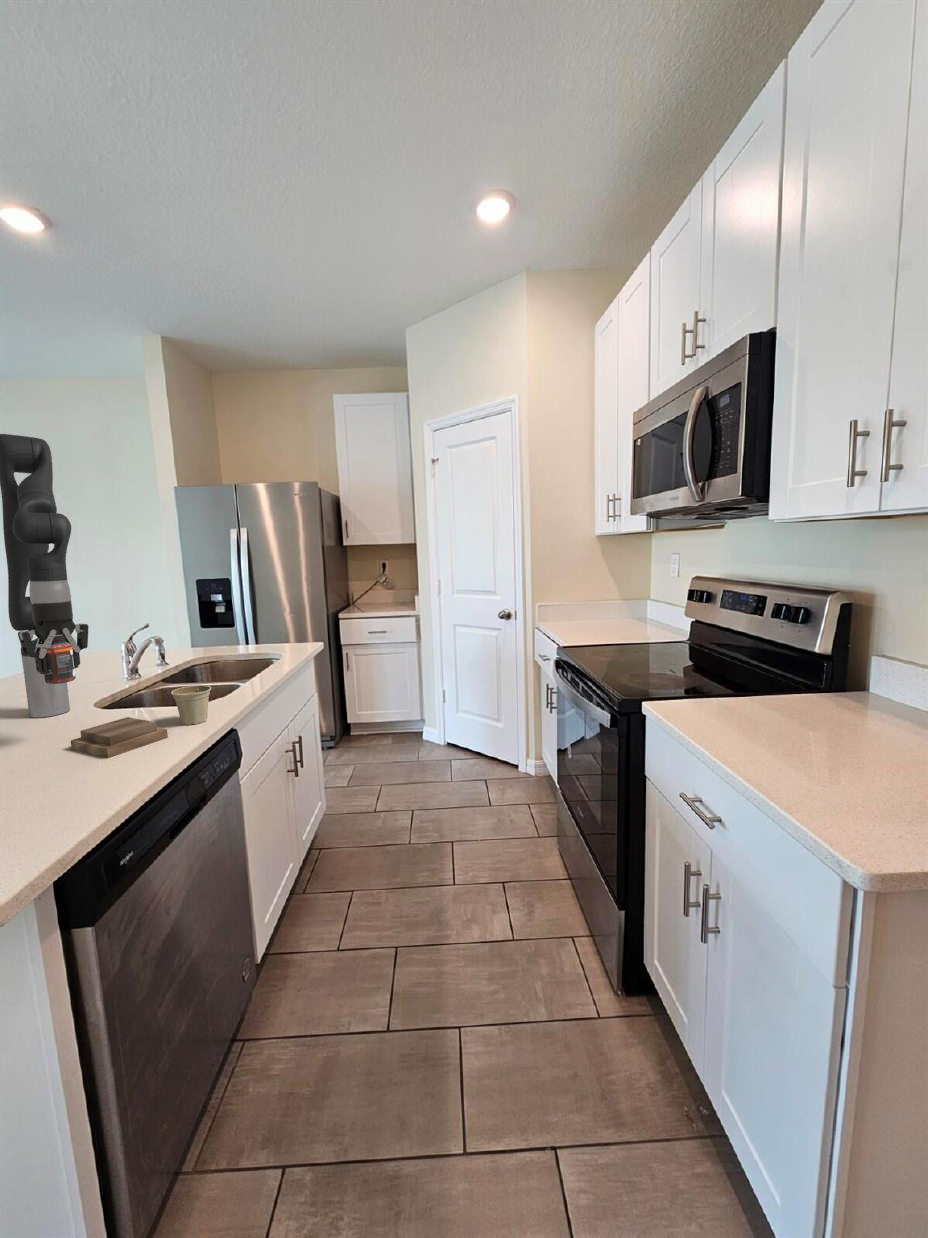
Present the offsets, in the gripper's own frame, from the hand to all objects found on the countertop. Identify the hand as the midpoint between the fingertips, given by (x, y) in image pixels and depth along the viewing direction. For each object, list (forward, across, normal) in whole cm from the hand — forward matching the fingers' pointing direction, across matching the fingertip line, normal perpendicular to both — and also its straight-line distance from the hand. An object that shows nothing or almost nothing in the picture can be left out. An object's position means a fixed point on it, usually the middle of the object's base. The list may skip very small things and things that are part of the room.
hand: (59, 670), depth 128 cm
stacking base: (+17, -4, +14) cm, 23 cm away
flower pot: (+17, -22, +16) cm, 32 cm away
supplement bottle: (+3, 0, 0) cm, 3 cm away
